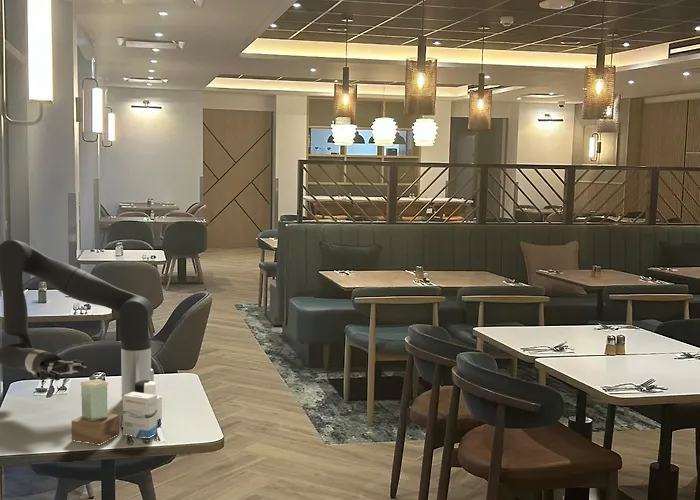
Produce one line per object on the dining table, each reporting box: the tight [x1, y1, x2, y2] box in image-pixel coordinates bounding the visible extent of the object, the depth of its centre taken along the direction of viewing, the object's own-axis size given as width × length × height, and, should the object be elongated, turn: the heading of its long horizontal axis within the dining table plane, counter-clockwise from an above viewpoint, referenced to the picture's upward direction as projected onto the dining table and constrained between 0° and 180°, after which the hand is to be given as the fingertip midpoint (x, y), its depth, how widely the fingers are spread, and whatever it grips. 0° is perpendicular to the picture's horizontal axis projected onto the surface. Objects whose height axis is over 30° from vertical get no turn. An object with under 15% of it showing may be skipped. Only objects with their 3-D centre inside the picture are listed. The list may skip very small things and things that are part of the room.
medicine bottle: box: [135, 380, 163, 421], centre depth 236 cm, size 7×7×12 cm
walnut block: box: [71, 412, 120, 445], centre depth 221 cm, size 9×9×6 cm
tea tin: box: [80, 378, 109, 422], centre depth 220 cm, size 5×5×10 cm
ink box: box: [122, 392, 158, 438], centre depth 224 cm, size 8×5×12 cm, turn 71°
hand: (72, 373), depth 227 cm, fingers open, 8 cm apart
